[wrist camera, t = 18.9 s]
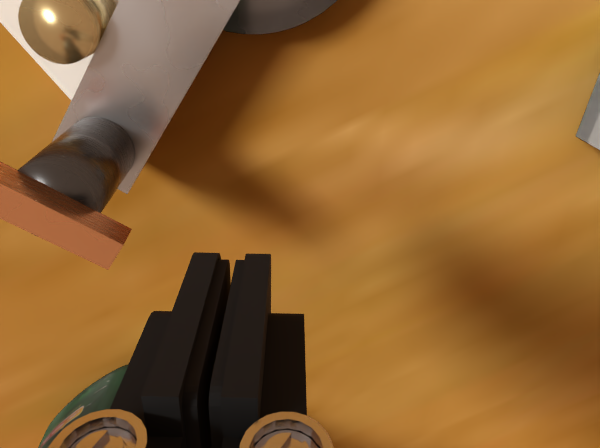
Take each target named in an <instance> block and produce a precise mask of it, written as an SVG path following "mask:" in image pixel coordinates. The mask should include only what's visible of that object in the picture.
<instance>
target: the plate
mask: <svg viewBox="0 0 600 448" xmlns="http://www.w3.org/2000/svg"><path fill="white" fill-rule="evenodd" d="M113 1H114V2H115V4H116V6H117V4H118V2H119V0H113ZM21 2H22V0H0V22H1V23H2V24H3V26H4V27H5V28H6V29H7V30H8V31H9V32H10V33H11V34H12V36H13V37H14V38H15V39H16V40H17V41H18V42H19V43H20V44H21V45H22V47H23V48H24V49H25V50H26V51H27V52H28V53H29V54H30V55H31V56H32V58H33V59H34V60H35V61H36V62H37V63H38V64H39V65H40V66H41V68H42V69H43V70H44V71H45V72H46V73H47V74H48V75H49V76H50V77H51V79H52V80H53V81H54V82H55V83H56V84H57V85H58V86H59V87H60V88H61V90H62V91H63V92H64V93H65V94H66V95H67V96H68V97H69V98H70V100H71V101H72V99H73V97H74V95H75V93H76V90H77V88H78V86H79V84H80V82H81V80H82V78H83V76H84V74H85V71H86V69H87V67H88V65H89V63H90V61H91V59H92V57H93V55H94V54H92V55H90V56H88V57H86V58H84V59H82V60H80V61H78V62H76V63H72V64H57V63H53V62H51V61H48V60H46V59H44V58H43V57H41V56H40V55H38V54H37V53H36V52H35V51H34V50H33V49H32V48H31V47H30V46H29V45H28V43H27V42H26V40H25V39H24V37H23V35H22V32H21V30H20V26H19V20H18V13H19V7H20V4H21Z"/></svg>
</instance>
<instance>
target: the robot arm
mask: <svg viewBox="0 0 600 448" xmlns="http://www.w3.org/2000/svg"><path fill="white" fill-rule="evenodd" d="M48 448H334V447H333V444H332V442H331V439H330V437H329V435H328V433H327V431H326V430H325V429H324V428H323V427H322V426H321V425H320V424H319V423H318V422H317V421H315V420H313V419H312V418H310V417H309V416H307V407H306V370H305V333H304V314H279V313H271V254H246V256H245V260H236V262H235V267H234V272H233V277H232V282H230V263H229V260H221V257H220V254H219V253H193V255H192V258H191V261H190V264H189V266H188V269H187V272H186V274H185V277H184V280H183V283H182V285H181V288H180V291H179V294H178V296H177V299H176V302H175V304H174V307H173V310H172V311H154V312H152V313H151V315H150V316H149V318H148V321H147V323H146V325H145V328H144V330H143V332H142V335H141V337H140V339H139V342H138V344H137V346H136V349H135V351H134V353H133V356H132V358H131V360H130V363H129V365H128V367H127V370H126V372H125V374H124V377H123V379H122V381H121V384H120V386H119V388H118V391H117V393H116V395H115V398H114V400H113V402H112V405H111V407H110V409H105V410H101V411H97V412H92V413H89V414H87V415H85V416H83V417H81V418H79V419H76V420H75V421H74V422H72V423H71V424H70V425H68V426H67V427H65V428H64V429H63V430H62V431H61V432H60V433H59V434H58V436H57V437H56V438H55V439H54V440H53V441H52V443H51V444H50V445H49V447H48Z"/></svg>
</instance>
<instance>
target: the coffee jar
mask: <svg viewBox="0 0 600 448" xmlns="http://www.w3.org/2000/svg"><path fill="white" fill-rule="evenodd" d="M127 367H128V365H125V366H122V367H120V368H118V369H116V370H114V371H112V372H111V373H109V374H107V375H105V376H104V377H102V378H101V379H99V380H98V381H96V382H94V383H93V384H92V385H90V386H89V387H87V388H86V389H85V390H83V391H82V392H81V393H80V394H79V395H77V396H76V397H75V398H74V399H73V400H72V401H71V402H70V403H68V404H67V405H66V406H65V407H64V408H63V409H62V410H61V411H60V413H59V414H58V415H57V416H56V417H55V418H54V420H53V421H52V422H51V423H50V425H49V427H48V428H47V430H46V432H45V434H44V437H43V439H42V441H41V443H40V445H39V447H38V448H48V447H49V445H50V444H51V443H52V441H53V440H54V439H55V438H56V437H57V436H58V434H59V433H60V432H61V431H62V430H63V429H64V428H65V427H67V426H68V425H70V424H71V423H72V422H74V421H75V420H76V419H79V418H81V417H83V416H85V415H87V414H89V413H92V412H97V411H101V410H105V409H110V407H111V405H112V402H113V400H114V398H115V395H116V393H117V391H118V388H119V386H120V384H121V381H122V379H123V377H124V374H125V372H126V370H127Z"/></svg>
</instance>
